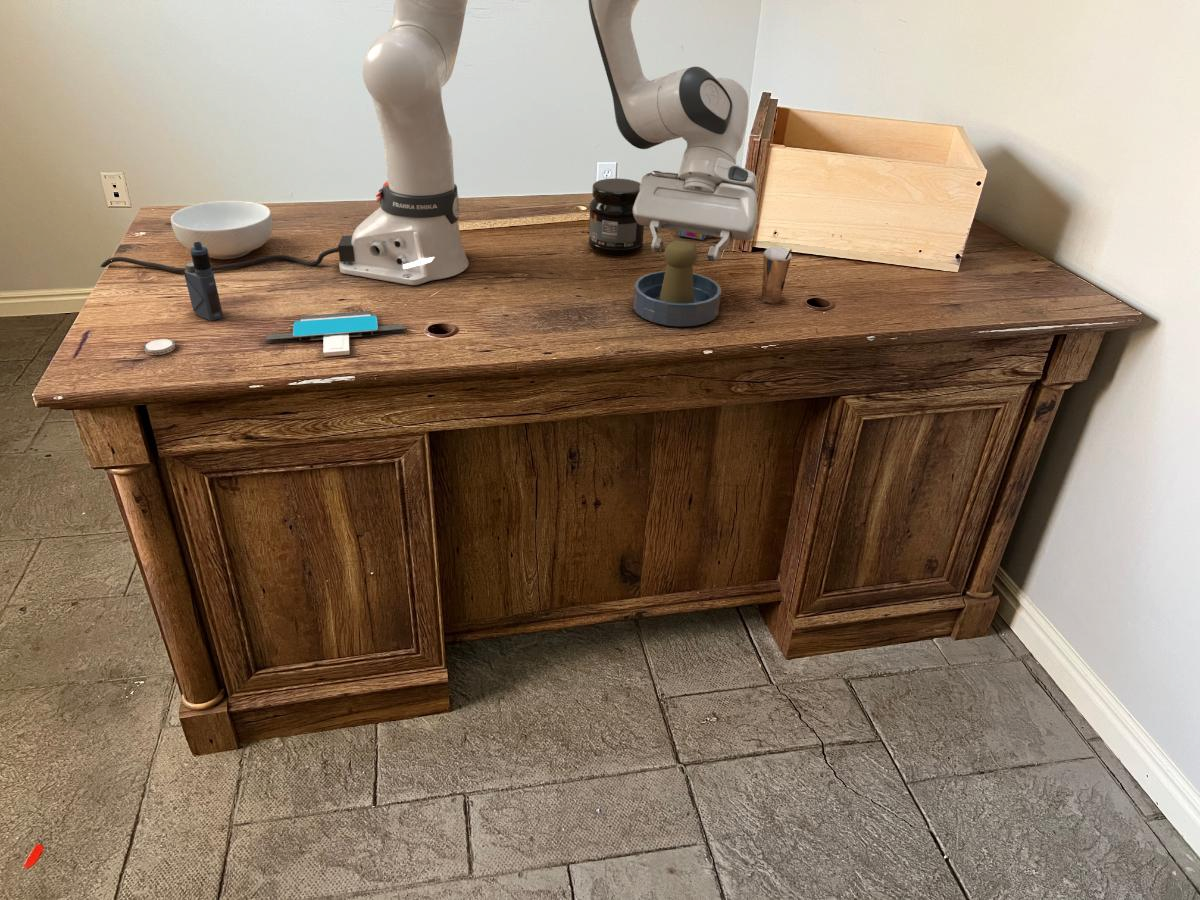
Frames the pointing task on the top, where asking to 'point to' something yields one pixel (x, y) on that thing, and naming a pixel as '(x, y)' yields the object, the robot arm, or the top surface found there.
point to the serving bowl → (676, 313)
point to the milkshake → (774, 273)
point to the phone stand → (335, 330)
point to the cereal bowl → (223, 227)
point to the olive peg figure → (679, 273)
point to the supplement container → (614, 218)
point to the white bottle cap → (159, 346)
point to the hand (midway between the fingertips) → (683, 254)
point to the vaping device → (202, 284)
